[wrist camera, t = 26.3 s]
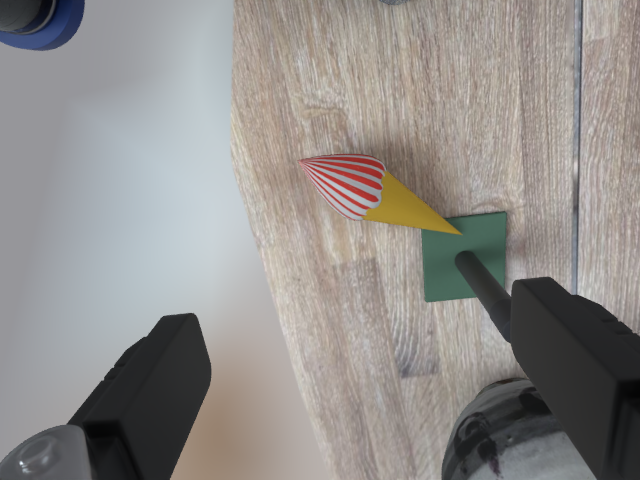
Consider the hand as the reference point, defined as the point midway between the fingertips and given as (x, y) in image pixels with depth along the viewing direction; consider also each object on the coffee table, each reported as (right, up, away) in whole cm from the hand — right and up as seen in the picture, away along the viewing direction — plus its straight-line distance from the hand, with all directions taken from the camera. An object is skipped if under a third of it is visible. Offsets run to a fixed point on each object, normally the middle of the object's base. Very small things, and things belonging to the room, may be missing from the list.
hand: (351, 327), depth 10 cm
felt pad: (+16, 0, +35) cm, 38 cm away
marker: (+16, 0, +34) cm, 38 cm away
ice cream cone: (+6, +7, +33) cm, 34 cm away
